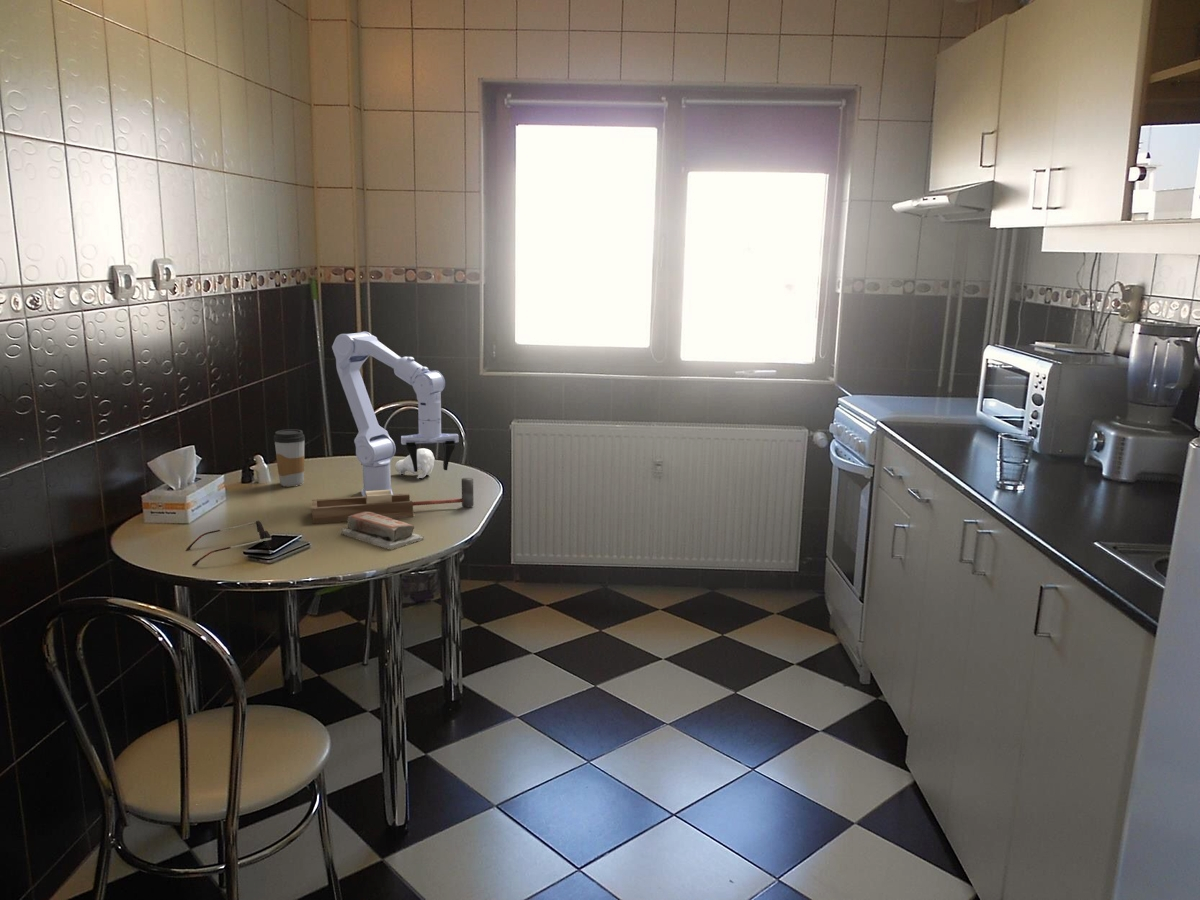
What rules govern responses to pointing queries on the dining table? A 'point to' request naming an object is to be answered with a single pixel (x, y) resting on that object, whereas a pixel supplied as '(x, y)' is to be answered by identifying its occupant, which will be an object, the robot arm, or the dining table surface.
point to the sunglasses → (263, 536)
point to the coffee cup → (290, 456)
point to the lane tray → (359, 508)
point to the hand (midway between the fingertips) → (430, 470)
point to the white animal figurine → (423, 462)
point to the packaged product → (380, 530)
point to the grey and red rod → (466, 500)
